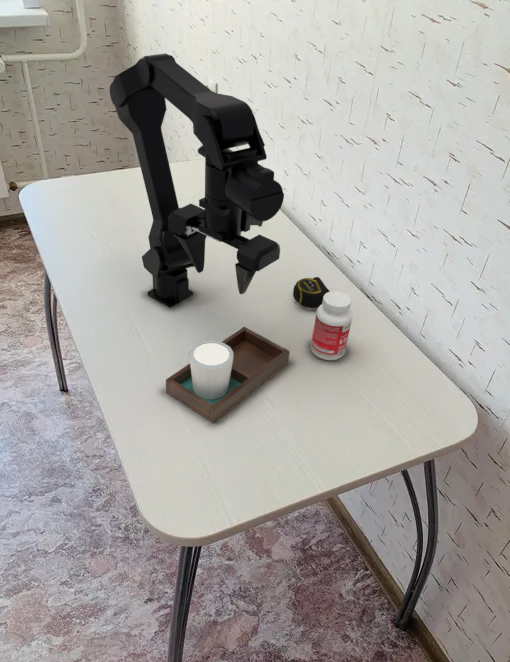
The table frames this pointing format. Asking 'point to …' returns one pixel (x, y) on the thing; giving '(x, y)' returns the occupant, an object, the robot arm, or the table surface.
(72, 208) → the table surface
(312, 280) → the tape measure
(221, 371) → the white cup
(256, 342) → the holder
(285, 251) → the table surface
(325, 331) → the pill bottle
